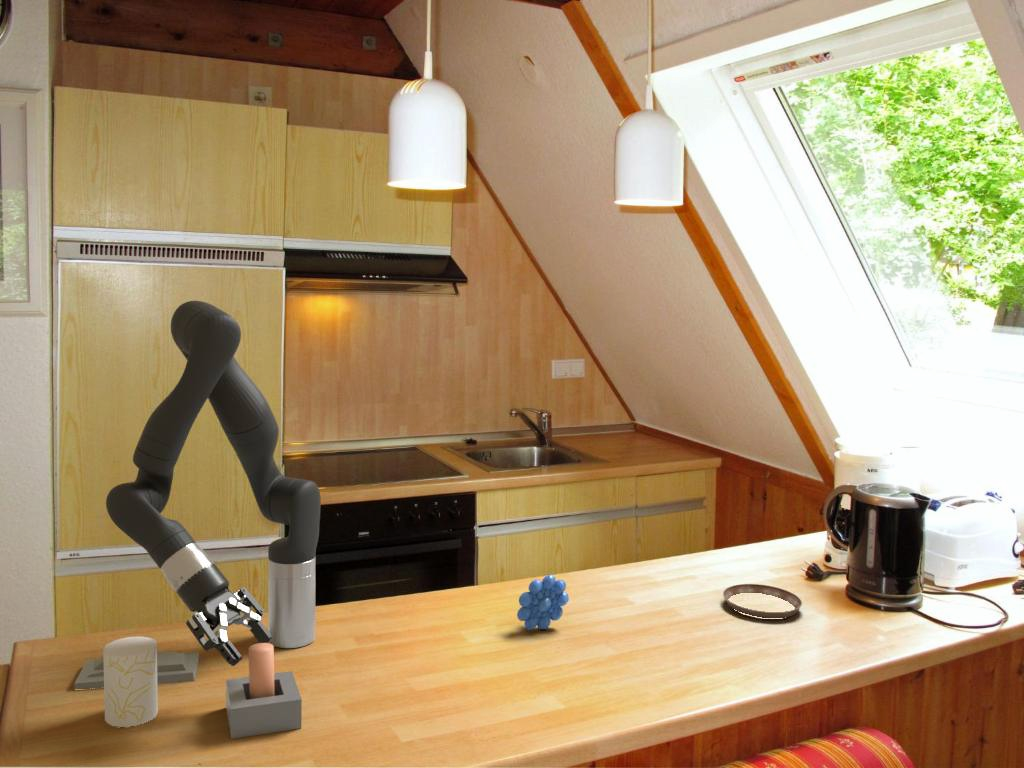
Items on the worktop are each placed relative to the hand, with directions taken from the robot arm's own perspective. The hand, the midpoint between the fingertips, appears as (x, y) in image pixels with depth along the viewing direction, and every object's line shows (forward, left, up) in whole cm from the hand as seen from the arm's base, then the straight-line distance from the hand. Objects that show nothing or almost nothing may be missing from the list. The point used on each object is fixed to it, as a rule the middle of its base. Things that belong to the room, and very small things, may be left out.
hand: (253, 652), depth 151 cm
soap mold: (-22, -18, -12) cm, 31 cm away
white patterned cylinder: (-6, -19, -11) cm, 23 cm away
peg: (+1, +1, -11) cm, 11 cm away
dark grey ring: (-17, +115, -12) cm, 117 cm away
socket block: (+1, +1, -11) cm, 11 cm away
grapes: (-21, +61, -11) cm, 66 cm away
